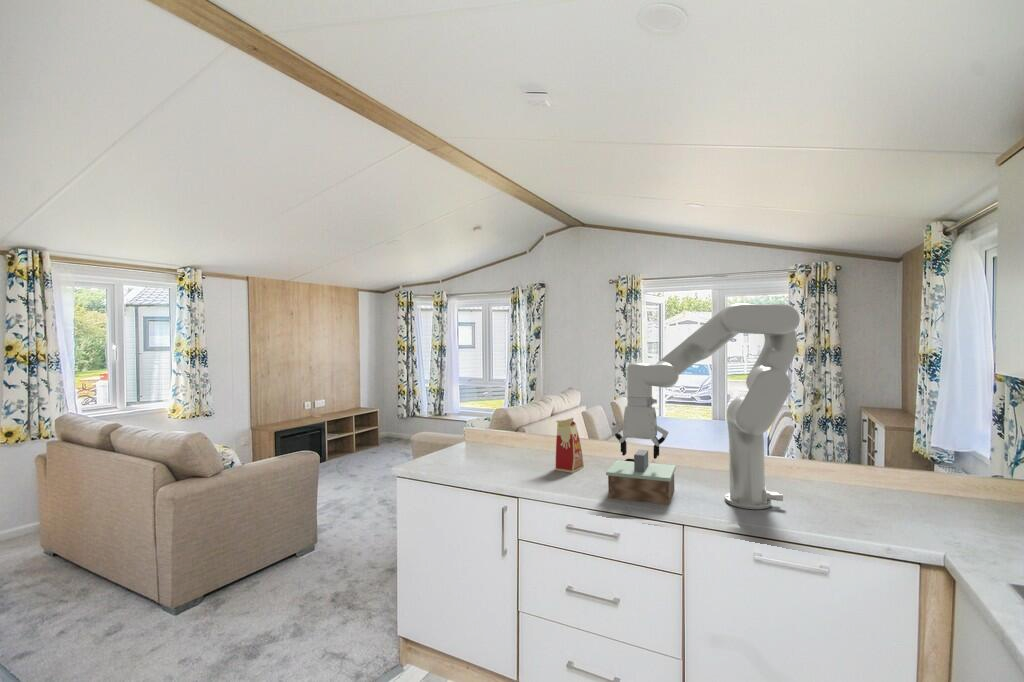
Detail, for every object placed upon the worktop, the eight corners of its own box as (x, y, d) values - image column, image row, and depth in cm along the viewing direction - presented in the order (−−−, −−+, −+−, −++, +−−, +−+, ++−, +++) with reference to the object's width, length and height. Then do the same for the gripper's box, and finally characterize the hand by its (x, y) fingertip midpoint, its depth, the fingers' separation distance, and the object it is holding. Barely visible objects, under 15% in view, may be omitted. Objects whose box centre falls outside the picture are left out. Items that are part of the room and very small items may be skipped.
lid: (675, 471, 154) (675, 449, 154) (670, 485, 140) (669, 461, 140) (616, 466, 162) (616, 445, 162) (606, 478, 148) (605, 455, 148)
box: (674, 493, 154) (674, 468, 154) (669, 508, 141) (668, 481, 141) (618, 487, 161) (618, 463, 161) (608, 500, 148) (608, 474, 148)
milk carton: (583, 467, 187) (582, 416, 187) (573, 473, 179) (572, 420, 179) (562, 464, 192) (561, 414, 192) (552, 470, 184) (551, 418, 184)
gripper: (669, 402, 151) (669, 456, 151) (615, 399, 158) (615, 450, 158) (666, 405, 144) (666, 462, 144) (609, 402, 151) (609, 456, 151)
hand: (639, 456), depth 151 cm, fingers open, 9 cm apart
